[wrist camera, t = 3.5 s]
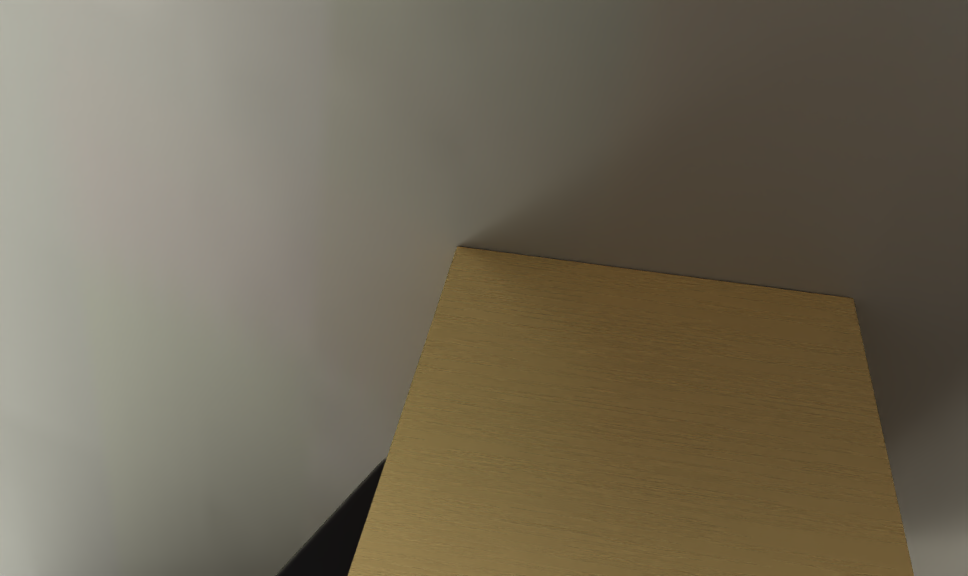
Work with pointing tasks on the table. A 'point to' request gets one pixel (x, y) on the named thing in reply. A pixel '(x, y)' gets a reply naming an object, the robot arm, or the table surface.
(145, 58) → the table surface
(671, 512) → the tan wooden block
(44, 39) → the table surface
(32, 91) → the table surface
